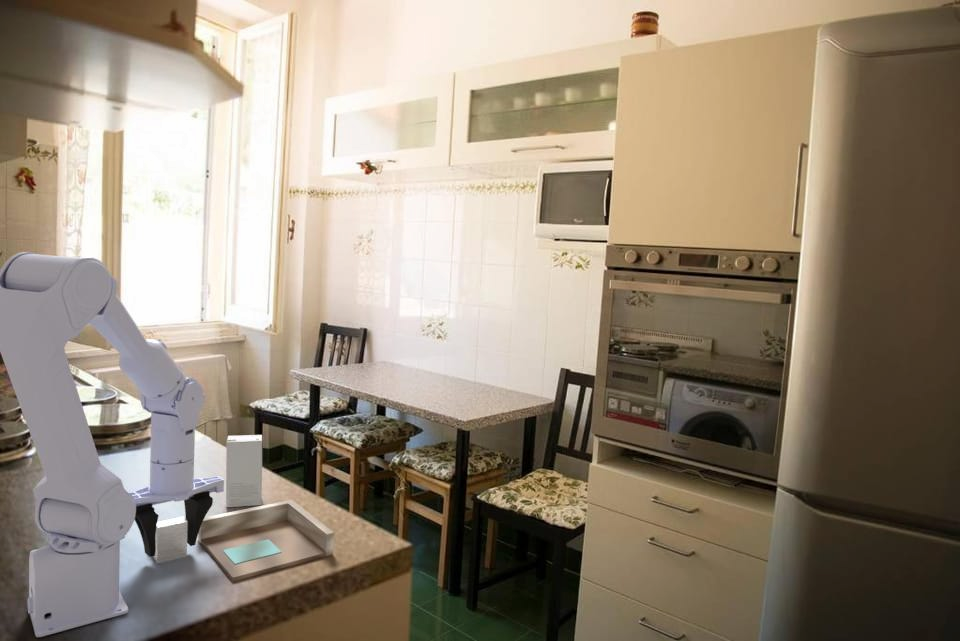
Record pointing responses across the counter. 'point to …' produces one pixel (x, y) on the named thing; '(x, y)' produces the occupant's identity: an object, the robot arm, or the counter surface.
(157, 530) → the aluminium bracket
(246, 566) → the corner arena
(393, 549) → the counter surface
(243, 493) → the skincare box
